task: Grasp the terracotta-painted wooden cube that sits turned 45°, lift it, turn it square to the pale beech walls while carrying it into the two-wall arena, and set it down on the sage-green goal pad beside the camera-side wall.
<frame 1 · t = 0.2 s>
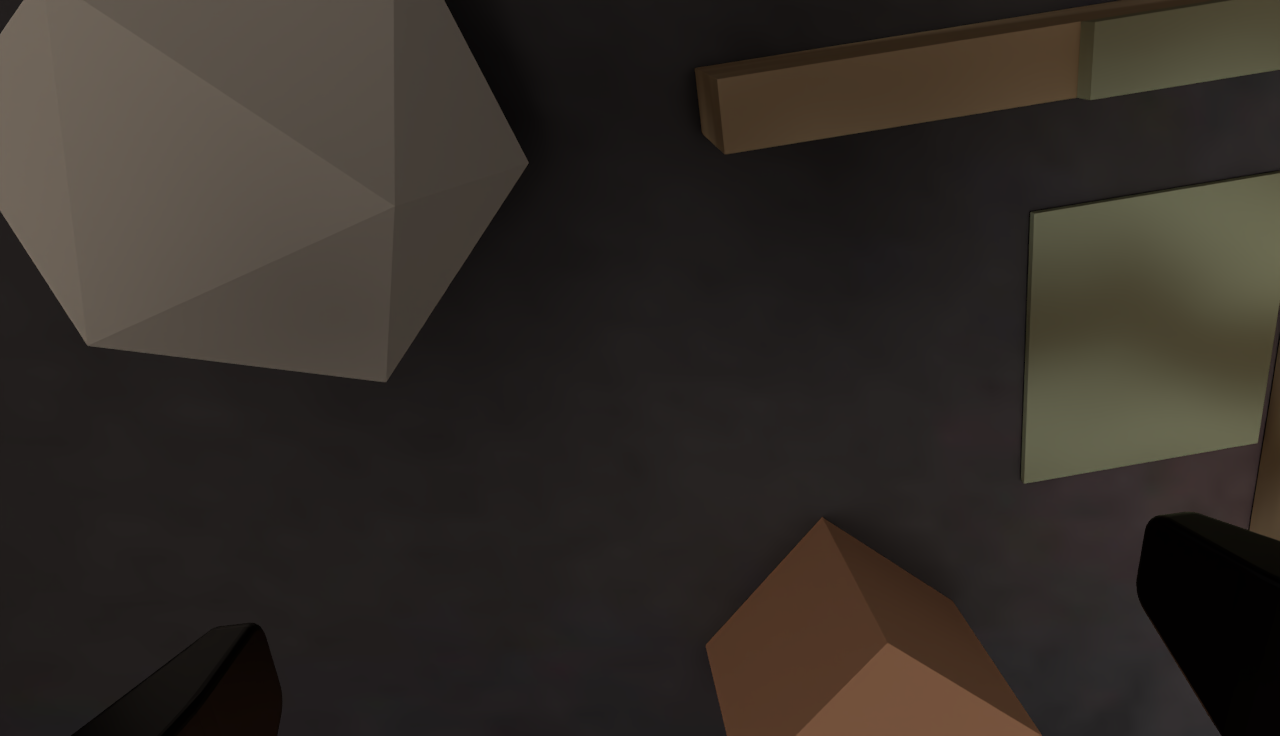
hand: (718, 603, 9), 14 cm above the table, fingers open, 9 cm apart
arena: (1027, 387, 25), on the table
cube: (828, 621, 27), on the table
die: (317, 115, 20), on the table
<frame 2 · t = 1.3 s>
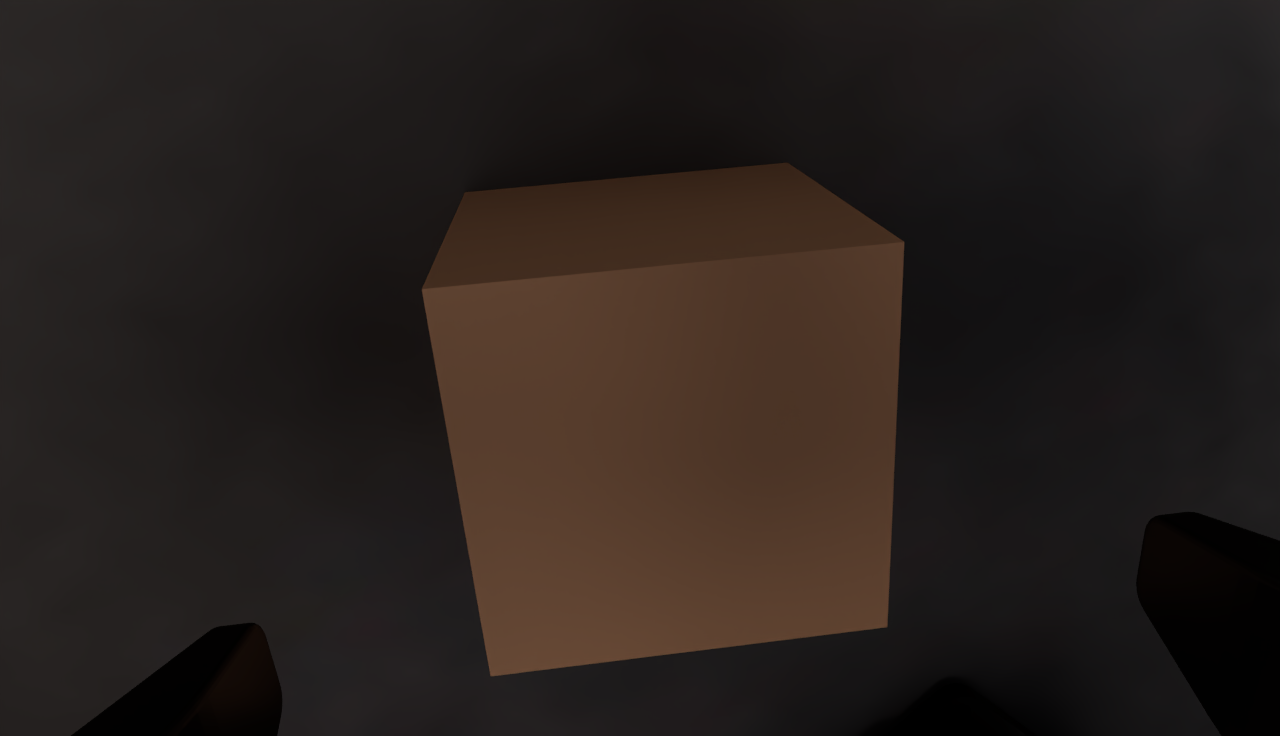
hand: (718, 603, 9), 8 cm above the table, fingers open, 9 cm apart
cube: (639, 327, 16), on the table
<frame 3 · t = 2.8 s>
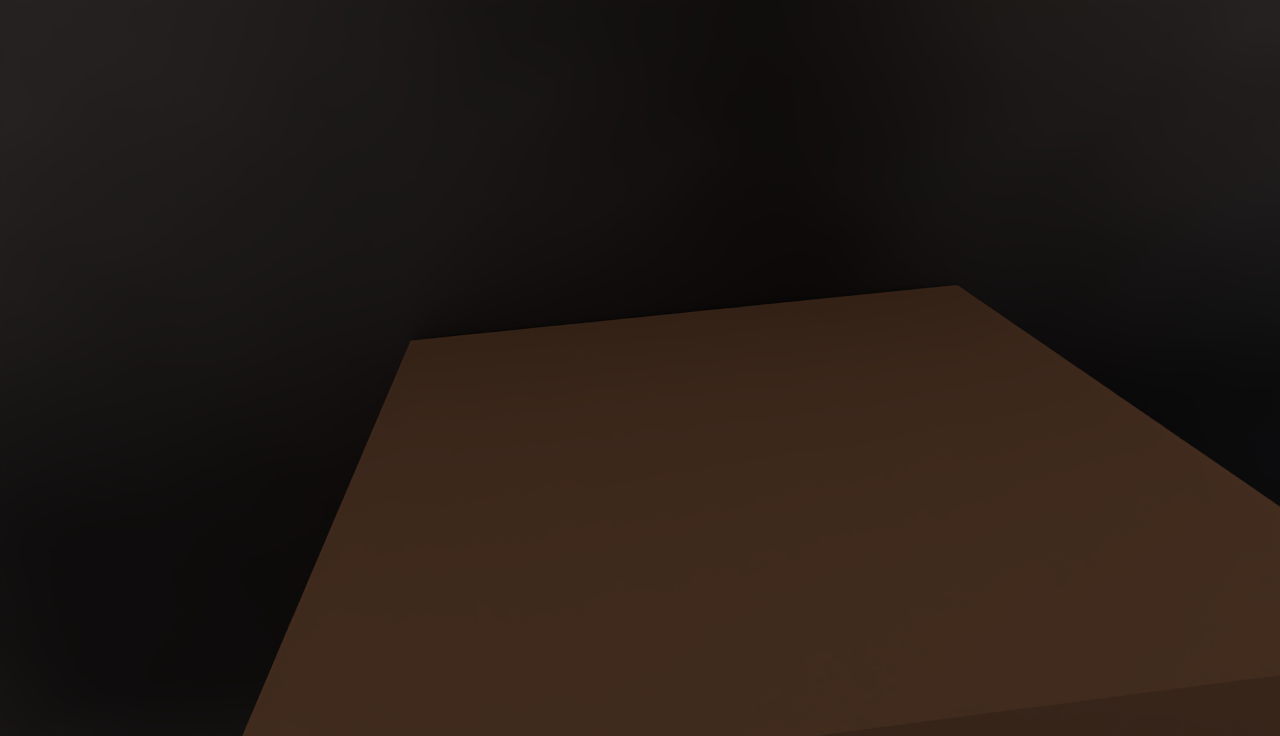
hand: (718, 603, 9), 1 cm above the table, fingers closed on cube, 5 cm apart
cube: (701, 544, 10), on the table, touching gripper
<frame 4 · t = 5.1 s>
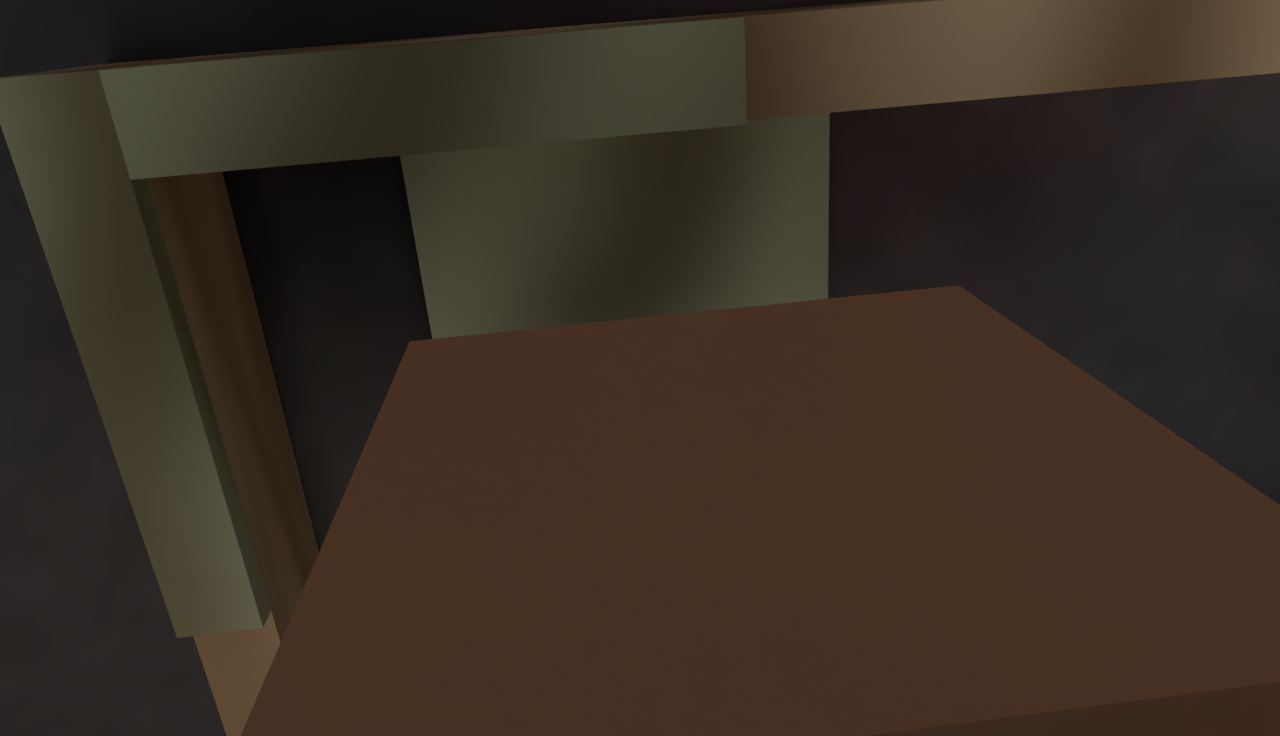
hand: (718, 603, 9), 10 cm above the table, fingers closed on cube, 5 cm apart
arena: (688, 449, 19), on the table
cube: (702, 546, 10), point 9 cm above the table, touching gripper
when the fingers open (2 cm above the table, at t = 7.2 s): cube stays where it is, resting on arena.
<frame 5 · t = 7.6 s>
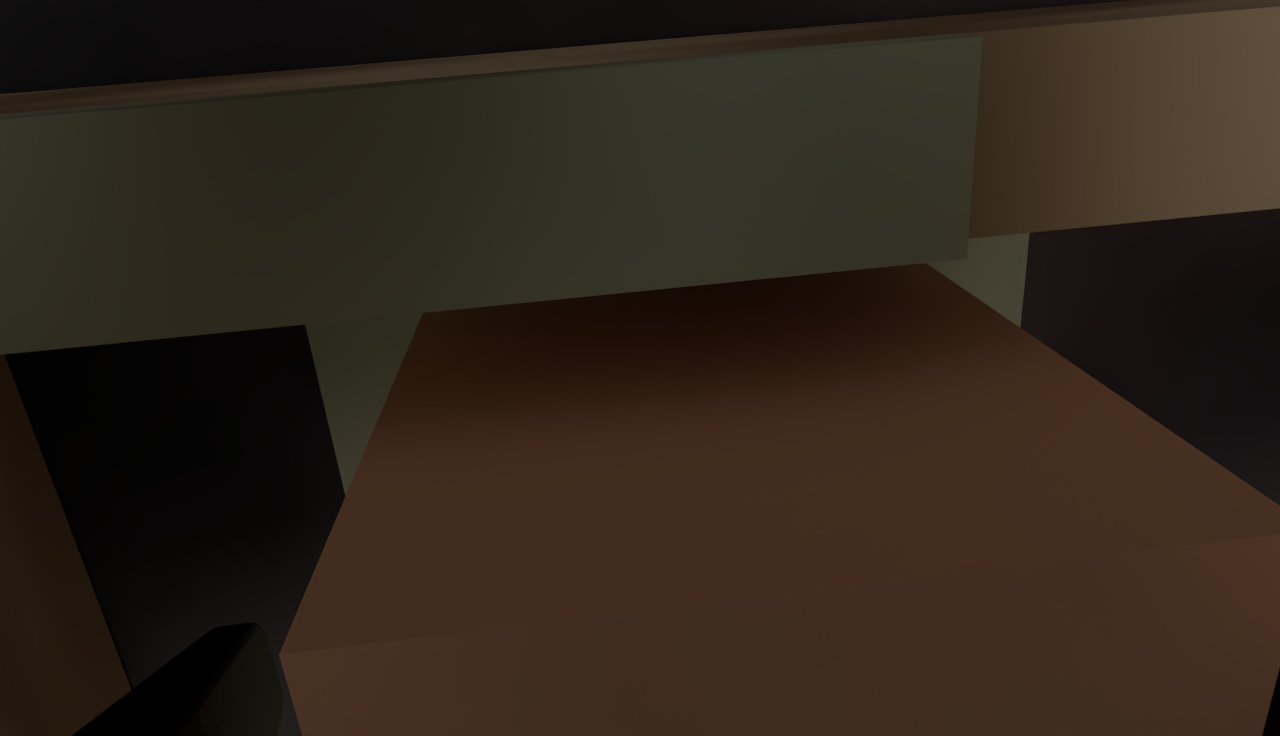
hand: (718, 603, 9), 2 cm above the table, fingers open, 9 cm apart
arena: (770, 700, 12), on the table
cube: (690, 500, 11), resting on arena
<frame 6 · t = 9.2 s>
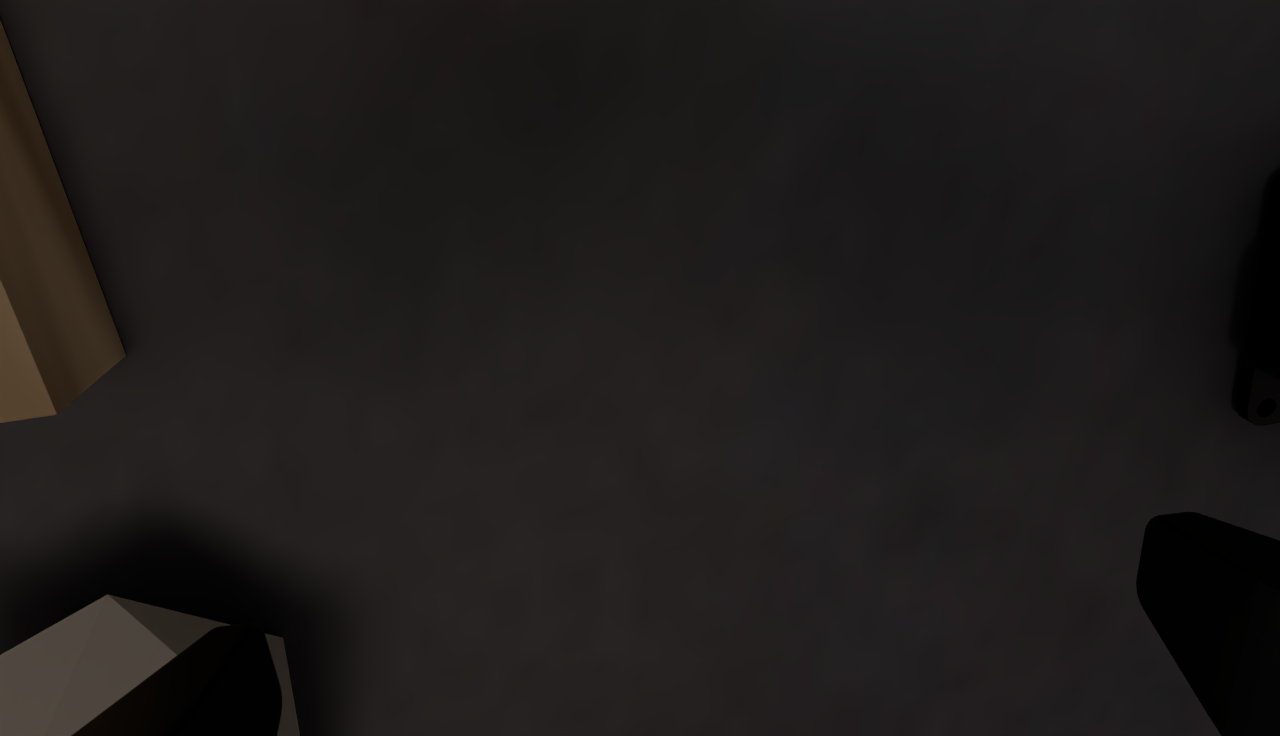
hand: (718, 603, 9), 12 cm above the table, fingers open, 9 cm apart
die: (177, 675, 23), on the table
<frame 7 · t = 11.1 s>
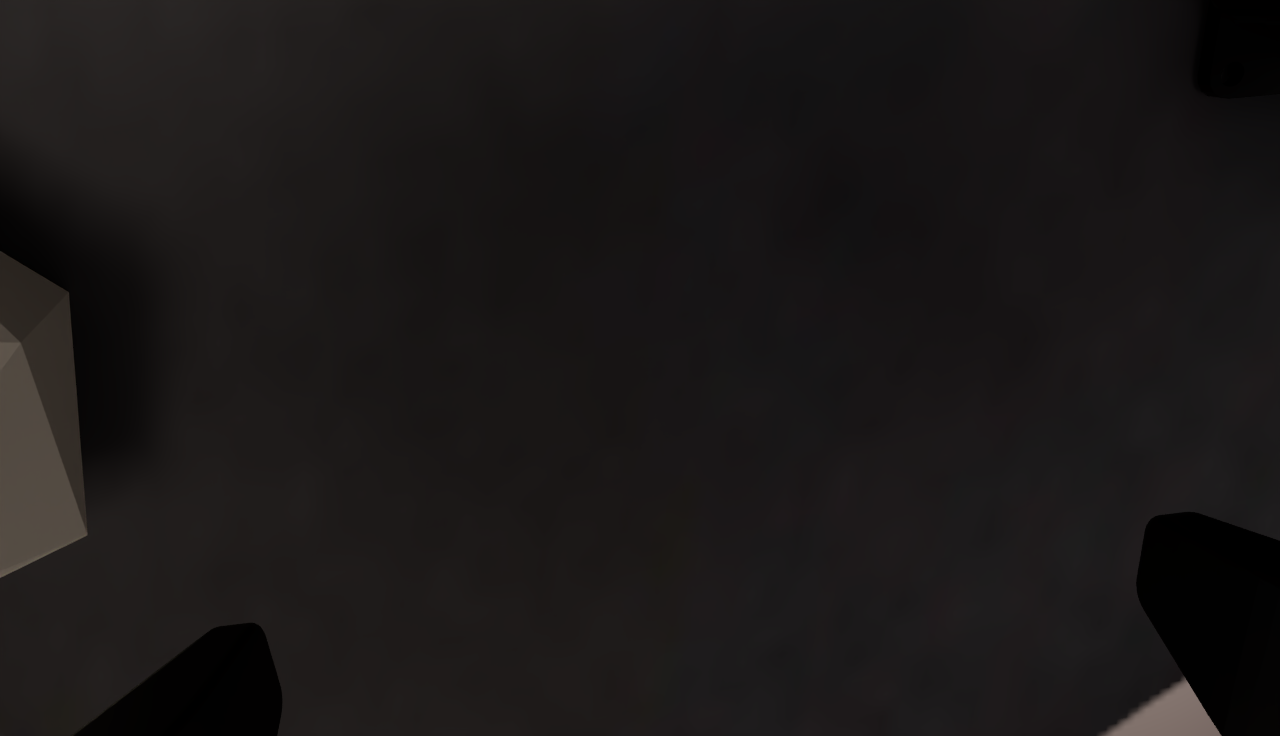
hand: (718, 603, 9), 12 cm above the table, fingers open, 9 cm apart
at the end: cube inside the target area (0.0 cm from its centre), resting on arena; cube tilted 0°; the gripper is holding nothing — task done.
